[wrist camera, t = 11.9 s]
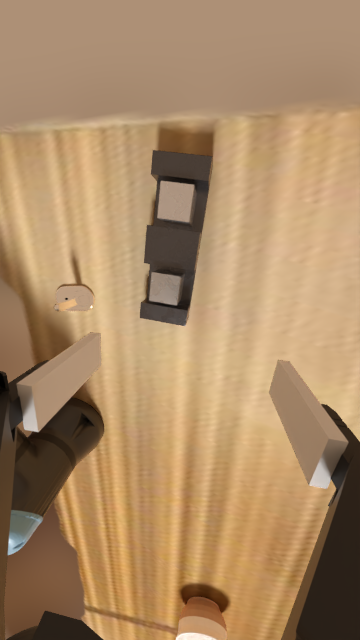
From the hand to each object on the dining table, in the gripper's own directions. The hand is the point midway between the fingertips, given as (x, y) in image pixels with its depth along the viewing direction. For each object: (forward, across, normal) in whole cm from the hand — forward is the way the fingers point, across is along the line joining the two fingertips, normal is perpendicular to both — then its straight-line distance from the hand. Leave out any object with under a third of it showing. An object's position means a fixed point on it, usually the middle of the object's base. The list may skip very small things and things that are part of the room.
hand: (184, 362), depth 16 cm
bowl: (+25, +15, -105) cm, 109 cm away
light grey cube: (+23, -5, +2) cm, 24 cm away
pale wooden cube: (+23, -5, +14) cm, 27 cm away
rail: (+24, -5, +8) cm, 25 cm away
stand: (+24, -24, -3) cm, 34 cm away
